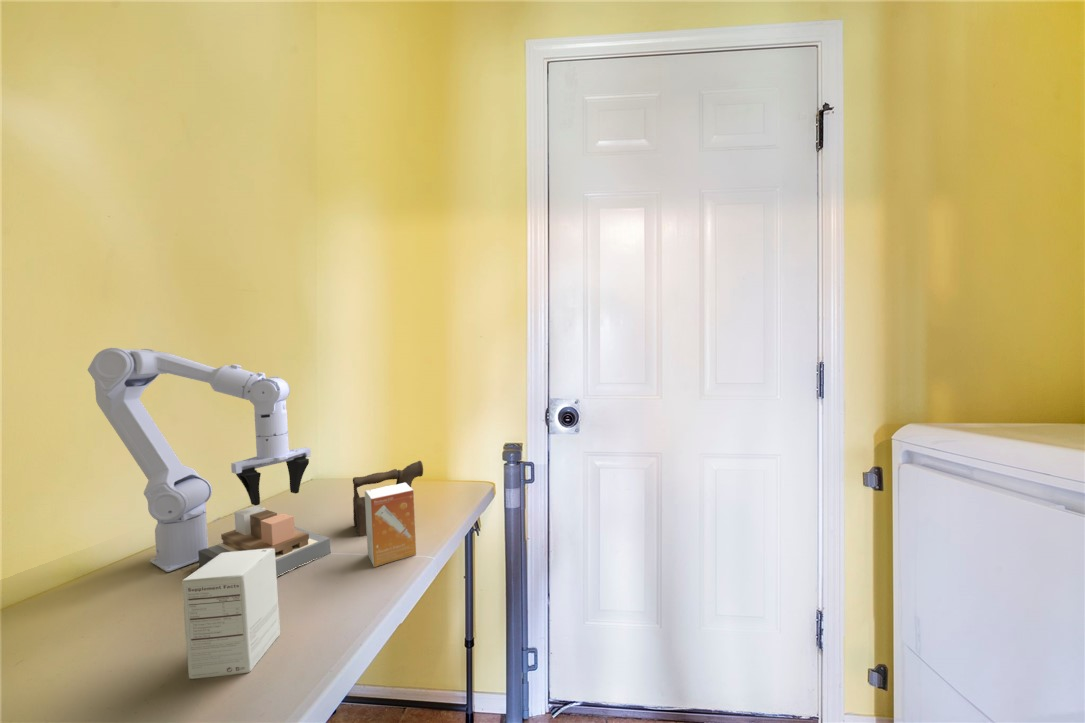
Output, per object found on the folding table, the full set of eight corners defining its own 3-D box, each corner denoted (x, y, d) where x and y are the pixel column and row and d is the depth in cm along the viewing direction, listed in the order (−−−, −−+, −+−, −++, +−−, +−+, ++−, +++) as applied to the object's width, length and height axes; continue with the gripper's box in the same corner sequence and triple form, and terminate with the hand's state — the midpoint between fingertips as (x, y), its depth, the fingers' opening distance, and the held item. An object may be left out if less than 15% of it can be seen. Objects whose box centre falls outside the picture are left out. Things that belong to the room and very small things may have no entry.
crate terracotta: (261, 541, 77) (260, 520, 77) (284, 533, 80) (283, 513, 80) (272, 545, 75) (271, 524, 75) (295, 536, 78) (293, 516, 78)
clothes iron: (428, 519, 97) (425, 464, 97) (355, 537, 89) (352, 477, 88) (419, 509, 104) (417, 457, 104) (351, 525, 95) (349, 469, 95)
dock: (199, 566, 79) (198, 550, 79) (281, 535, 92) (280, 521, 92) (246, 591, 69) (245, 573, 69) (330, 552, 82) (329, 537, 82)
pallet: (221, 544, 81) (220, 514, 81) (265, 528, 88) (263, 501, 88) (264, 562, 73) (262, 529, 73) (309, 543, 80) (307, 513, 79)
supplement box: (227, 639, 57) (221, 551, 57) (282, 634, 58) (277, 546, 58) (185, 681, 50) (179, 579, 50) (249, 674, 50) (243, 574, 50)
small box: (373, 568, 75) (370, 498, 75) (367, 555, 80) (363, 490, 80) (417, 555, 79) (414, 489, 79) (408, 543, 85) (405, 481, 85)
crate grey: (235, 531, 82) (234, 511, 82) (257, 523, 86) (256, 505, 86) (245, 535, 80) (243, 515, 80) (267, 527, 84) (266, 508, 84)
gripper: (241, 442, 77) (245, 513, 77) (316, 429, 90) (320, 490, 90) (225, 440, 81) (229, 507, 81) (299, 427, 93) (303, 486, 94)
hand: (275, 498), depth 86 cm, fingers open, 7 cm apart
